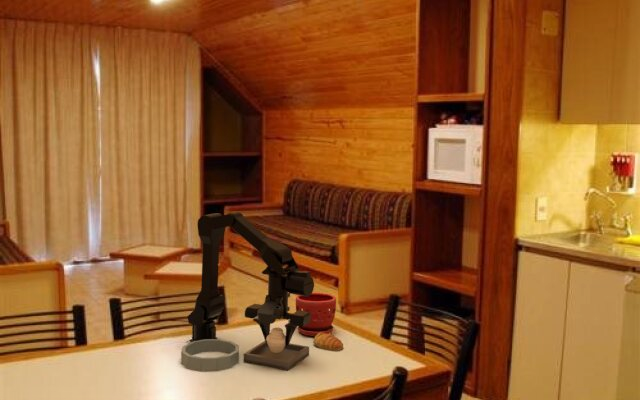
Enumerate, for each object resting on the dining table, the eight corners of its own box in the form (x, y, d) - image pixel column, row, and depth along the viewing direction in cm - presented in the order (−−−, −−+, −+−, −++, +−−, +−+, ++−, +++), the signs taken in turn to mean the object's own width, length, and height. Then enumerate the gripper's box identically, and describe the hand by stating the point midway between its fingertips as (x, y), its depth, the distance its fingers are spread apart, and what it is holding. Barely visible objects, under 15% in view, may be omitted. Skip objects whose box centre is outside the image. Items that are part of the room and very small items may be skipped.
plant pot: (343, 332, 215) (344, 296, 214) (315, 341, 206) (316, 304, 204) (314, 323, 224) (315, 289, 223) (286, 331, 214) (287, 295, 213)
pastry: (348, 348, 201) (348, 336, 200) (334, 354, 196) (334, 342, 195) (324, 341, 207) (325, 329, 206) (310, 346, 202) (310, 334, 201)
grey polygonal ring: (170, 364, 183) (170, 352, 183) (202, 347, 198) (202, 336, 197) (219, 375, 177) (219, 362, 177) (249, 356, 192) (249, 344, 191)
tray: (243, 362, 187) (243, 353, 186) (266, 347, 199) (267, 339, 199) (287, 371, 181) (288, 362, 181) (309, 354, 194) (309, 346, 193)
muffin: (284, 355, 186) (284, 331, 185) (263, 353, 187) (263, 329, 187) (289, 348, 192) (290, 325, 191) (269, 346, 193) (269, 322, 193)
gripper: (235, 293, 184) (234, 346, 186) (295, 302, 177) (293, 358, 179) (254, 284, 194) (253, 335, 196) (312, 292, 187) (310, 345, 189)
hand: (276, 343), depth 190 cm, fingers closed on muffin, 6 cm apart
